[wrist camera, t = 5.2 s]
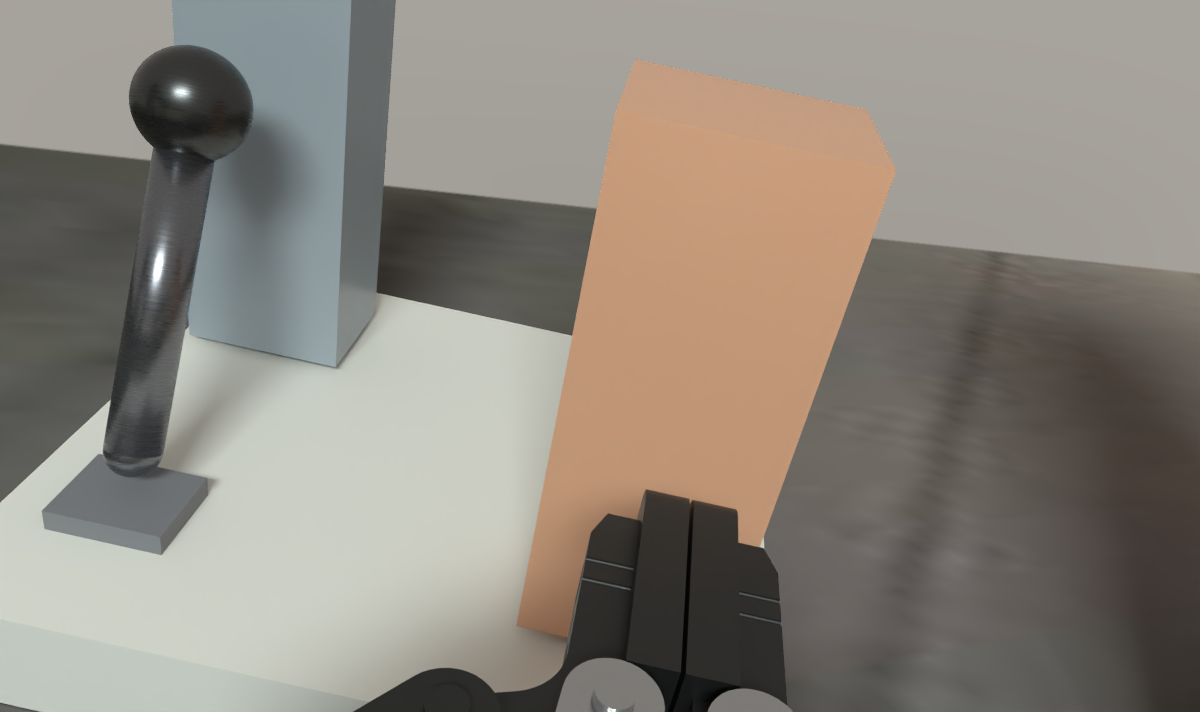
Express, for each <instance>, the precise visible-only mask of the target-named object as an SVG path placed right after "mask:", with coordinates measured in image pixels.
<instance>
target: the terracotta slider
mask: <svg viewBox="0 0 1200 712" xmlns="http://www.w3.org/2000/svg"><path fill="white" fill-rule="evenodd" d="M895 173H896V168H895V166H894V164H893V162H892V160H891V159H890V156H889V154H888V152H887V150H886V148H885V146H884V144H883V142H882V140H881V138H880V136H879V134H878V132H877V130H876V127H875V125H874V123H873V121H872V119H871V117H870V115H869V113H868V111H867V110H866V109H862V108H857V107H853V106H848V105H844V104H839V103H834V102H830V101H825V100H820V99H816V98H811V97H806V96H802V95H798V94H793V93H788V92H784V91H779V90H775V89H770V88H765V87H761V86H756V85H751V84H747V83H742V82H738V81H733V80H728V79H724V78H719V77H715V76H710V75H705V74H700V73H696V72H691V71H687V70H682V69H678V68H673V67H668V66H664V65H659V64H655V63H650V62H645V61H641V60H635V63H634V65H633V68H632V70H631V73H630V75H629V78H628V80H627V83H626V85H625V88H624V91H623V93H622V96H621V99H620V101H619V104H618V106H617V109H616V113H615V118H614V123H613V128H612V134H611V139H610V144H609V150H608V155H607V160H606V165H605V170H604V175H603V180H602V185H601V191H600V196H599V201H598V206H597V211H596V216H595V222H594V227H593V232H592V237H591V242H590V247H589V253H588V258H587V263H586V268H585V273H584V278H583V284H582V289H581V294H580V299H579V304H578V309H577V315H576V320H575V325H574V330H573V335H572V341H571V346H570V351H569V356H568V361H567V366H566V372H565V377H564V382H563V387H562V392H561V397H560V403H559V408H558V413H557V418H556V423H555V428H554V434H553V439H552V444H551V449H550V454H549V459H548V465H547V470H546V475H545V480H544V485H543V490H542V496H541V501H540V506H539V511H538V516H537V522H536V527H535V532H534V537H533V542H532V547H531V553H530V558H529V563H528V568H527V573H526V578H525V584H524V589H523V594H522V599H521V604H520V609H519V615H518V620H517V625H516V626H518V627H523V628H527V629H532V630H536V631H541V632H545V633H550V634H554V635H559V636H563V637H568V633H569V628H570V623H571V618H572V613H573V608H574V603H575V598H576V594H577V589H578V585H579V581H580V577H581V572H582V568H583V564H584V560H585V555H586V551H587V547H588V543H589V538H590V534H591V531H592V530H593V529H594V528H595V527H596V526H597V525H598V524H599V523H600V522H601V520H602V519H603V518H604V517H605V516H606V515H607V514H608V513H609V514H613V515H618V516H622V517H627V518H631V519H636V520H637V517H638V513H639V509H640V505H641V502H642V498H643V495H644V492H645V490H646V489H648V490H652V491H657V492H661V493H666V494H670V495H675V496H679V497H684V498H688V499H690V503H691V501H692V500H696V501H701V502H705V503H710V504H714V505H719V506H723V507H728V508H733V509H736V510H737V512H738V543H743V544H747V545H752V546H756V547H760V545H761V542H762V540H763V537H764V534H765V531H766V529H767V526H768V523H769V520H770V518H771V515H772V512H773V509H774V507H775V504H776V501H777V498H778V496H779V493H780V490H781V487H782V485H783V482H784V479H785V476H786V473H787V471H788V468H789V465H790V462H791V460H792V457H793V454H794V451H795V449H796V446H797V443H798V440H799V438H800V435H801V432H802V429H803V427H804V424H805V421H806V418H807V416H808V413H809V410H810V407H811V404H812V402H813V399H814V396H815V393H816V391H817V388H818V385H819V382H820V380H821V377H822V374H823V371H824V369H825V366H826V363H827V360H828V358H829V355H830V352H831V349H832V347H833V344H834V341H835V338H836V336H837V333H838V330H839V327H840V324H841V322H842V319H843V316H844V313H845V311H846V308H847V305H848V302H849V300H850V297H851V294H852V291H853V289H854V286H855V283H856V280H857V278H858V275H859V272H860V269H861V267H862V264H863V261H864V258H865V255H866V253H867V250H868V247H869V244H870V242H871V239H872V236H873V233H874V231H875V228H876V225H877V222H878V220H879V217H880V214H881V211H882V209H883V206H884V203H885V200H886V197H887V195H888V192H889V189H890V186H891V184H892V181H893V178H894V175H895Z"/></svg>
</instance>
